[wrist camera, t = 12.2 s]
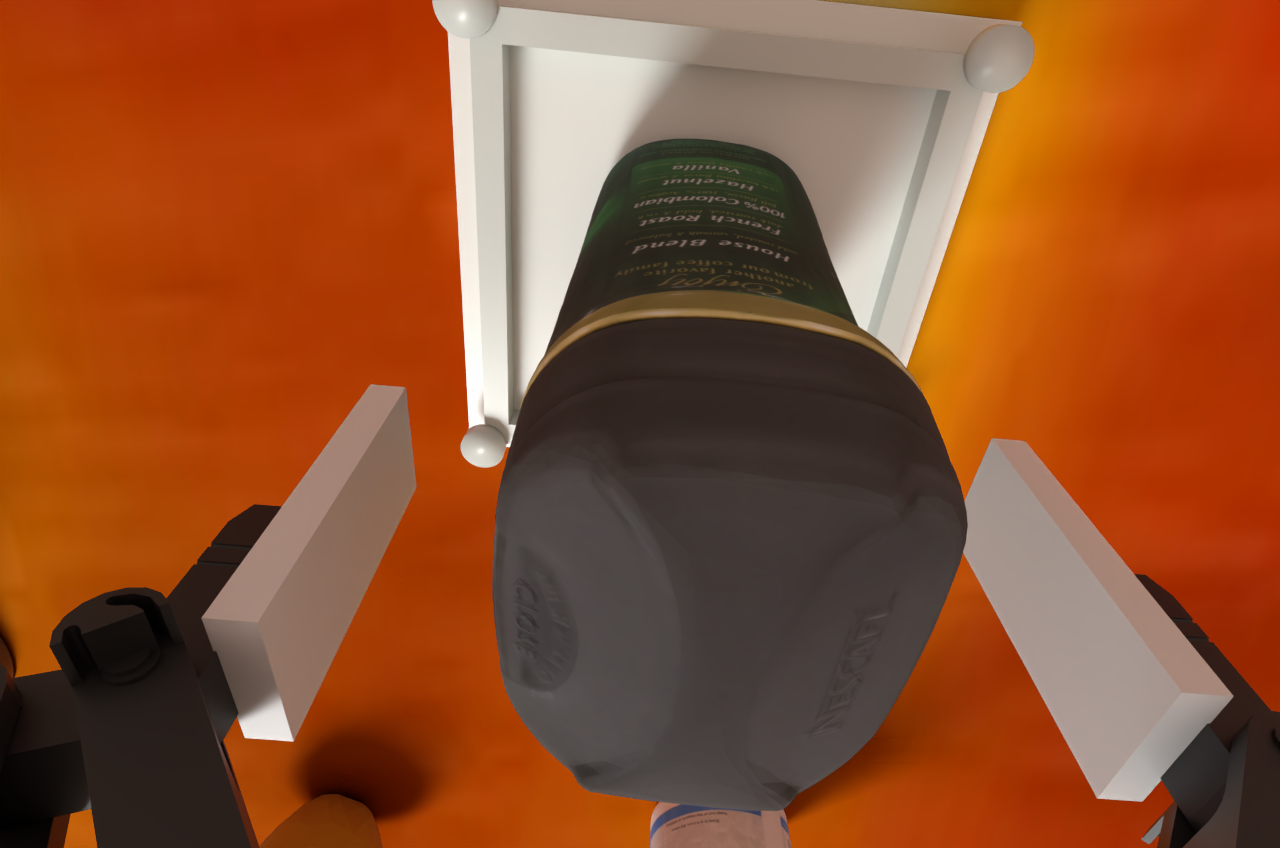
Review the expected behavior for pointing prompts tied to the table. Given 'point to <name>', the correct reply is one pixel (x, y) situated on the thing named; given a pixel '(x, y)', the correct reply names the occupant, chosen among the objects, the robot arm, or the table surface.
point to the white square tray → (714, 110)
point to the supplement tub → (717, 827)
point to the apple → (327, 826)
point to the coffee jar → (716, 498)
